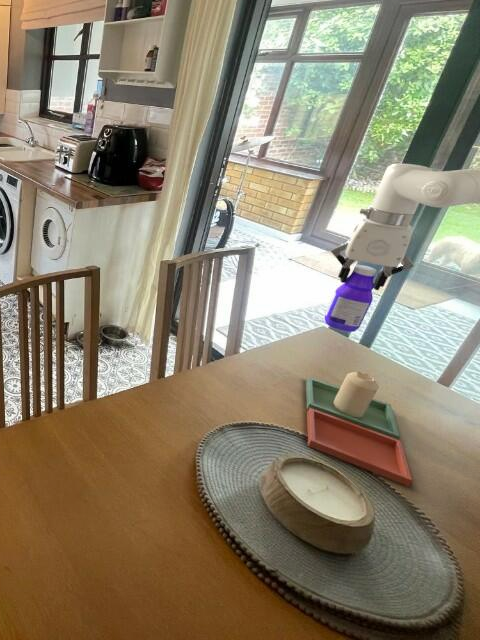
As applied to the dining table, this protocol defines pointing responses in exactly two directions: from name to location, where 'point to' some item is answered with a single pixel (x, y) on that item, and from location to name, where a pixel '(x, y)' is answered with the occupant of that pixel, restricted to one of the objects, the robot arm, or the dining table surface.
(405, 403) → the dining table surface
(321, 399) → the tray sage
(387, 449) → the tray terracotta
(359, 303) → the bottle
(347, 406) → the candle
